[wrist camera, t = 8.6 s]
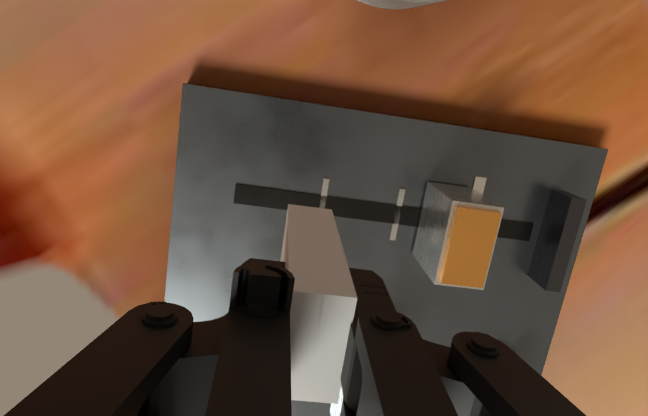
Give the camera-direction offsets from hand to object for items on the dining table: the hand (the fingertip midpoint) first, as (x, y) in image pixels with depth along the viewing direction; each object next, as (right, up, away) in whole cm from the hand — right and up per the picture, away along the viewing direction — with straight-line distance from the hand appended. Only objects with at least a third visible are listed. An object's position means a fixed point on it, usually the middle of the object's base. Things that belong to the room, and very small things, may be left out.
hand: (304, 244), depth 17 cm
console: (+3, -4, +12) cm, 13 cm away
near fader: (+7, +1, +9) cm, 12 cm away
